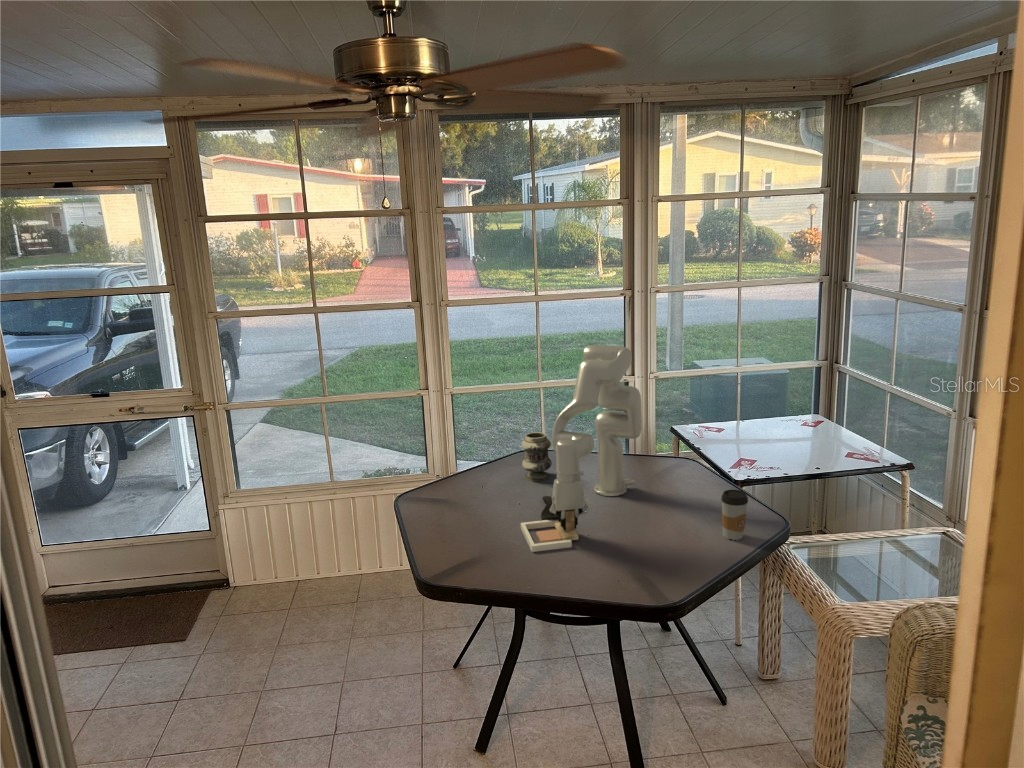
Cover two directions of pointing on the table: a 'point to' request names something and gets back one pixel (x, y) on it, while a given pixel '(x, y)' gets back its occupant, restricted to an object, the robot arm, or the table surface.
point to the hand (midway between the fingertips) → (569, 527)
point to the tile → (548, 536)
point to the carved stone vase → (536, 456)
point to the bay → (547, 544)
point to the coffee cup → (734, 513)
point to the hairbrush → (548, 510)
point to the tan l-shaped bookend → (568, 527)
